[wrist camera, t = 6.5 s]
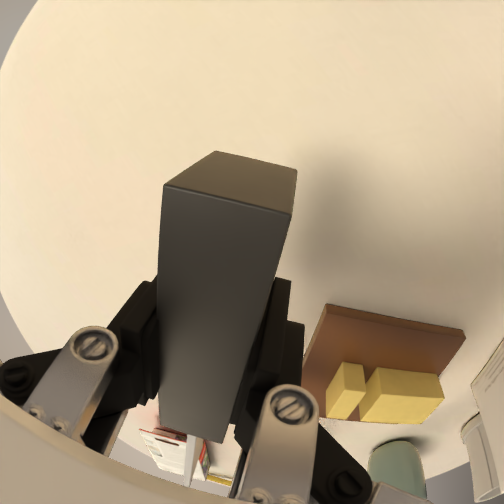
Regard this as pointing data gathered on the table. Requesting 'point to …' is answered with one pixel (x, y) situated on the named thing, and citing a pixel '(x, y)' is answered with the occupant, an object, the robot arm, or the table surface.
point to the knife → (215, 286)
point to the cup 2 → (480, 460)
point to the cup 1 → (398, 467)
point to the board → (373, 348)
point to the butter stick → (400, 396)
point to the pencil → (219, 480)
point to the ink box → (174, 452)
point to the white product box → (493, 407)
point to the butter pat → (345, 391)
